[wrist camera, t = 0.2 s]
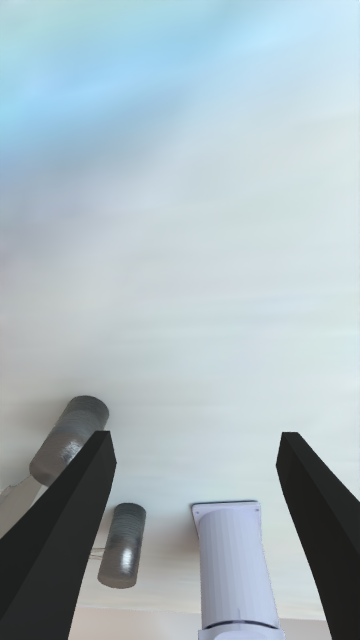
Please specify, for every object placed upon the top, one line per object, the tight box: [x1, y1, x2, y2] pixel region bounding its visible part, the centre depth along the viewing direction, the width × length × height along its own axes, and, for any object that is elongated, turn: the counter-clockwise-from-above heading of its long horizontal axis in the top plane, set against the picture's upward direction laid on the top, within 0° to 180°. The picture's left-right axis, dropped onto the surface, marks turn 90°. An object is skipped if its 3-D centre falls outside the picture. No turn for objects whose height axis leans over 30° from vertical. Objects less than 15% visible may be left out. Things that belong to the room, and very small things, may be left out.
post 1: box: [29, 396, 109, 487], centre depth 20 cm, size 4×4×6 cm
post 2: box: [98, 503, 146, 589], centre depth 27 cm, size 4×4×6 cm
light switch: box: [0, 475, 49, 539], centre depth 23 cm, size 2×12×8 cm, turn 132°
